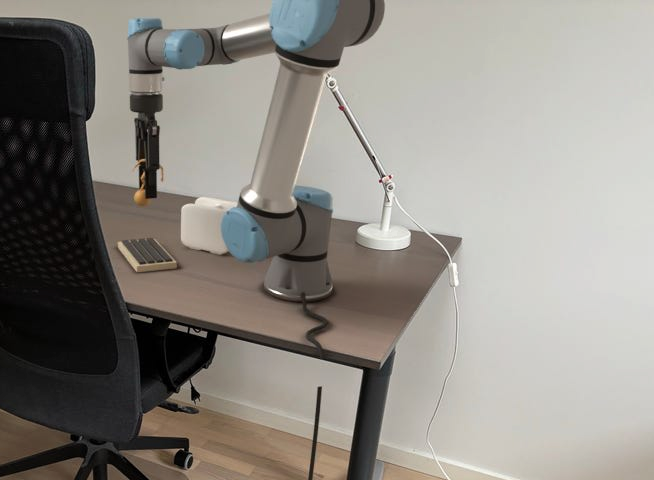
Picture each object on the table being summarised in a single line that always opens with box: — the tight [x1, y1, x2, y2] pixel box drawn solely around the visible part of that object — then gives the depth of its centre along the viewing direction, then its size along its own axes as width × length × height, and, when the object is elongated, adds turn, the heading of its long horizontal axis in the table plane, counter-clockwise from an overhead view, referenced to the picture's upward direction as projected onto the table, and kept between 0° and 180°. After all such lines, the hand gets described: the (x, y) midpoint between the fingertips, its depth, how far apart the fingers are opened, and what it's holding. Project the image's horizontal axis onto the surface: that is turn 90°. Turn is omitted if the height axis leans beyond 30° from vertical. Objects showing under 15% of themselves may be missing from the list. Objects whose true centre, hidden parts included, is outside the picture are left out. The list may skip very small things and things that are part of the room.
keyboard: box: [117, 237, 178, 273], centre depth 186 cm, size 19×10×2 cm, turn 18°
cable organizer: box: [180, 196, 238, 256], centre depth 192 cm, size 15×11×12 cm
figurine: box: [131, 159, 164, 207], centre depth 176 cm, size 8×6×12 cm
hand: (147, 195), depth 178 cm, fingers open, 5 cm apart
